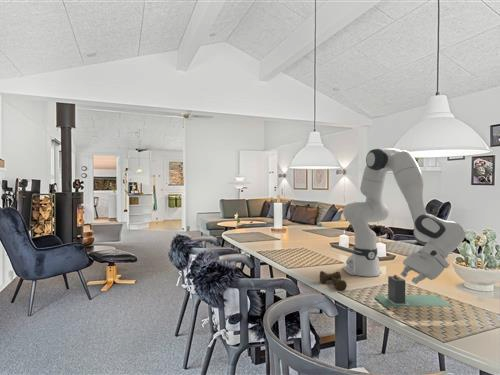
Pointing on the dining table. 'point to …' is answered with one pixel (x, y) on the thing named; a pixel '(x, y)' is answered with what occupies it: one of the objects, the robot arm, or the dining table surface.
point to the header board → (413, 301)
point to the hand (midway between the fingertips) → (407, 279)
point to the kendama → (335, 278)
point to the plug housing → (396, 289)
